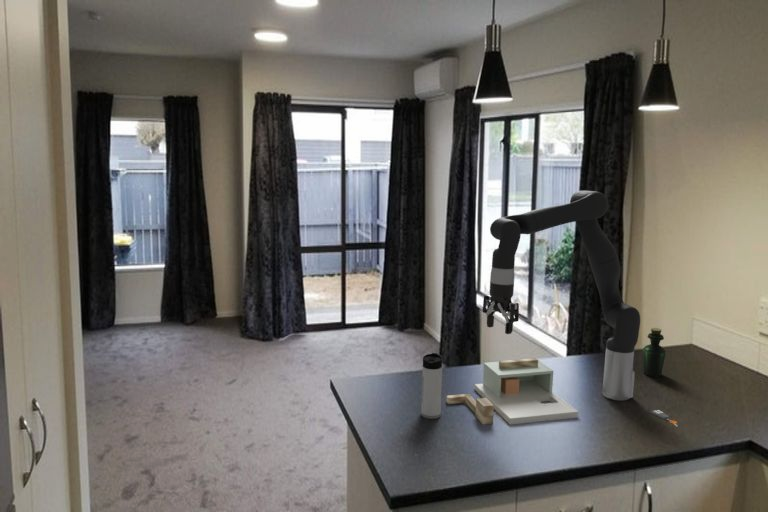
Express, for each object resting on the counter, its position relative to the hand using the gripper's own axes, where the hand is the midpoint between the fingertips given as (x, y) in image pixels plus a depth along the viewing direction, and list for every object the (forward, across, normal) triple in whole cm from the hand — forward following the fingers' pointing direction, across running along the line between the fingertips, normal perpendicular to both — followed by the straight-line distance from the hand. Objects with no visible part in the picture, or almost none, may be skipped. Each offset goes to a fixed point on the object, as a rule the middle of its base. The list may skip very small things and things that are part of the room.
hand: (499, 330), depth 197 cm
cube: (+25, +6, -12) cm, 29 cm away
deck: (+27, 0, -13) cm, 30 cm away
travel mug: (+28, +8, +20) cm, 35 cm away
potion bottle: (+26, -6, -76) cm, 81 cm away
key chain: (+27, -34, -44) cm, 62 cm away
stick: (+17, +7, -17) cm, 25 cm away
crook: (+28, +3, +8) cm, 29 cm away
